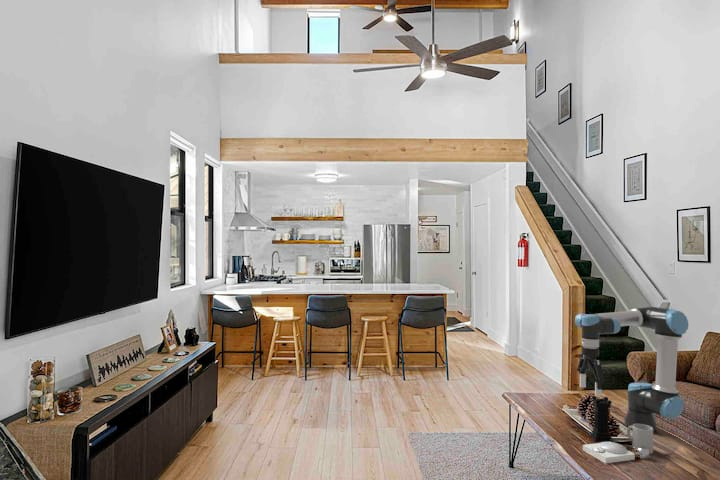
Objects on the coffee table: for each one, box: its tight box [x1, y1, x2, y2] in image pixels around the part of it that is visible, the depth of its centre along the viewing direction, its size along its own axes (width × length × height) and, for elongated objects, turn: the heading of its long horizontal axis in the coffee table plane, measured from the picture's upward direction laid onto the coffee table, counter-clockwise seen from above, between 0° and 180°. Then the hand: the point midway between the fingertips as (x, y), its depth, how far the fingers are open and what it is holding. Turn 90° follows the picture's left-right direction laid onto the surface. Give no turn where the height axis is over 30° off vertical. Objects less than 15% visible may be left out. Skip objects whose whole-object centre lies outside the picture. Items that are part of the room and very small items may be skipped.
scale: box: [582, 441, 636, 464], centre depth 219 cm, size 16×14×4 cm
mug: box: [626, 424, 654, 455], centre depth 226 cm, size 12×8×11 cm
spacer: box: [637, 446, 650, 460], centre depth 217 cm, size 4×4×4 cm
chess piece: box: [589, 395, 614, 443], centre depth 238 cm, size 8×8×20 cm
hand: (590, 391), depth 228 cm, fingers open, 13 cm apart
